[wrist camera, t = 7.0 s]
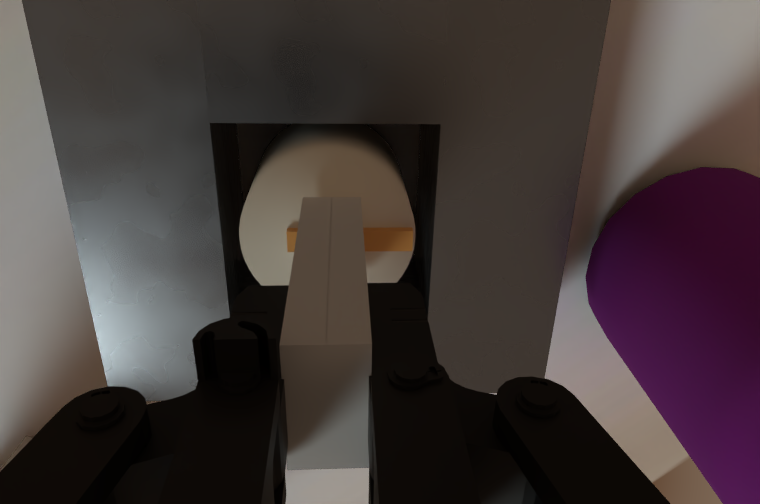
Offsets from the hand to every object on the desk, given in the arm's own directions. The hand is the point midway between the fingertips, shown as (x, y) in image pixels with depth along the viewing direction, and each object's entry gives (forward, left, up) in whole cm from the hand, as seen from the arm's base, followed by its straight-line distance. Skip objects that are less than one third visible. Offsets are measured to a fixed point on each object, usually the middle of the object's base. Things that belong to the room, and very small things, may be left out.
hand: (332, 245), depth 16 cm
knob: (0, 0, -5) cm, 5 cm away
